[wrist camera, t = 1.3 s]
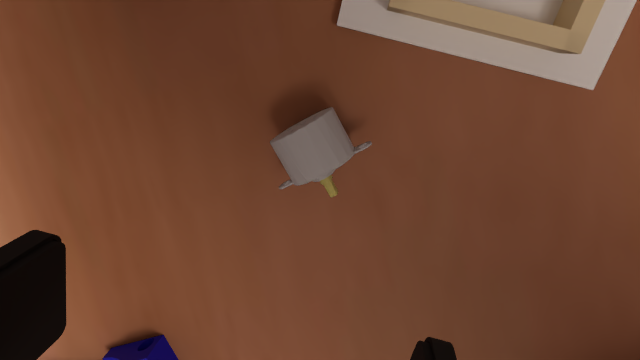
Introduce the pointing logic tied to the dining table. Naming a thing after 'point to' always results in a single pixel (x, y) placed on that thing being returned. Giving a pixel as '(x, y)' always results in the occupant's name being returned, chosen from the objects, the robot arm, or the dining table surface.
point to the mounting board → (503, 31)
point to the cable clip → (143, 350)
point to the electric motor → (315, 149)
